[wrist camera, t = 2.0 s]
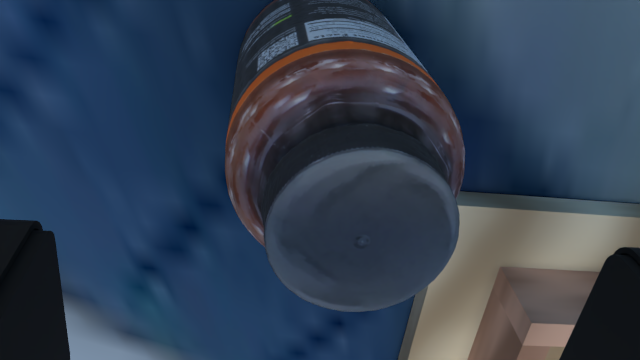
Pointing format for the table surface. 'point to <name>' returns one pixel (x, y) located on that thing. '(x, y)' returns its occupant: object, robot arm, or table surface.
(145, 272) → the table surface
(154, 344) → the table surface
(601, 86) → the table surface
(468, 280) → the bottle holder
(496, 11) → the table surface
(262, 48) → the supplement bottle
